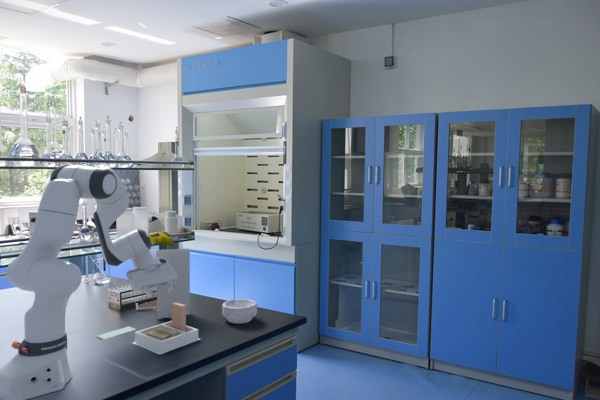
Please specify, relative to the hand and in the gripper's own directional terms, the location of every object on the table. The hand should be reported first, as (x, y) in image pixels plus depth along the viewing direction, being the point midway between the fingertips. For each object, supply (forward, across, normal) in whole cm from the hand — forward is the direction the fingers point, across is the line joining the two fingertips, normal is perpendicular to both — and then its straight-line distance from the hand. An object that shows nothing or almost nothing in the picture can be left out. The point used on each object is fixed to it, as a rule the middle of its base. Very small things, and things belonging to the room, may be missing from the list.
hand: (161, 294), depth 184 cm
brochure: (+2, +16, +21) cm, 27 cm away
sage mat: (+5, -12, +18) cm, 22 cm away
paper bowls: (+21, +31, +2) cm, 37 cm away
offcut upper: (+17, -8, +2) cm, 18 cm away
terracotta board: (+18, 0, +3) cm, 18 cm away
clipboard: (-15, +24, +39) cm, 48 cm away
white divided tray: (+19, -6, +4) cm, 20 cm away
